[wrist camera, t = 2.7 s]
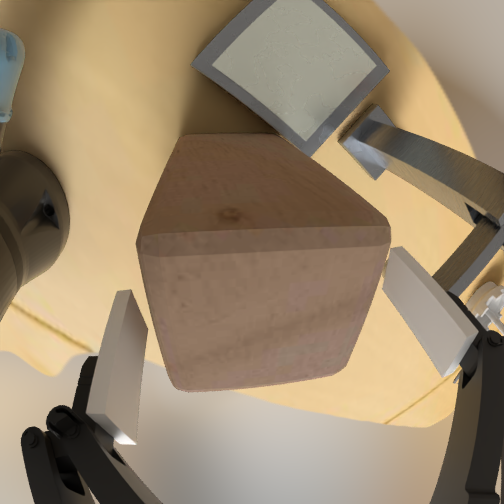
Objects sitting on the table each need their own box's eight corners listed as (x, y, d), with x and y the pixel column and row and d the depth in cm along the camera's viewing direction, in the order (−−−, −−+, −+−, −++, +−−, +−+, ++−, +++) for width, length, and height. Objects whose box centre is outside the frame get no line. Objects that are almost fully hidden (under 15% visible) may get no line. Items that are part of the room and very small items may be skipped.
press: (191, 66, 22) (162, 15, 6) (281, -22, 18) (391, -122, 2) (350, 198, 32) (463, 314, 15) (418, 122, 28) (557, 184, 11)
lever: (373, 268, 19) (418, 327, 14) (517, 87, 12) (572, 106, 7) (393, 287, 20) (434, 342, 15) (527, 117, 14) (577, 139, 9)
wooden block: (176, 133, 25) (125, 231, 9) (281, 132, 27) (406, 222, 10) (182, 227, 31) (170, 399, 14) (274, 223, 32) (347, 378, 15)
